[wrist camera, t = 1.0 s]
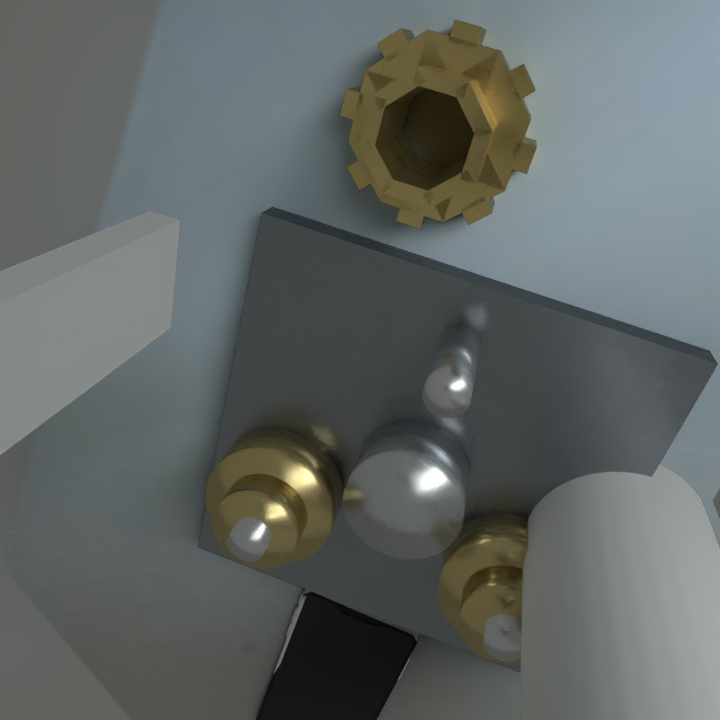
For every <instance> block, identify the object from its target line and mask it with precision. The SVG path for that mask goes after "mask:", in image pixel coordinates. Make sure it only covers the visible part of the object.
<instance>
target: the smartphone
mask: <svg viewBox="0 0 720 720" xmlns="http://www.w3.org/2000/svg"><path fill="white" fill-rule="evenodd" d="M286 636H287V639H286V642H285V645H284V647H283V650H282V653H281V655H280V658H279V661H278V663H277V666H276V668H275V671H274V674H273V676H272V679H271V682H270V684H269V687H268V689H267V692H266V695H265V697H264V700H263V703H262V705H261V708H260V711H259V713H258V716H257V718H256V720H377V718H378V716H379V714H380V712H381V710H382V708H383V706H384V705H385V703H386V701H387V699H388V697H389V695H390V693H391V691H392V689H393V688H394V686H395V684H396V682H397V680H400V678H401V676H402V674H403V672H404V670H405V668H406V666H407V664H408V663H409V661H410V659H411V655H412V652H413V650H414V648H415V646H416V644H417V641H418V636H419V633H417V632H415V631H412V630H410V629H407V628H405V627H402V626H399V625H397V624H394V623H392V622H389V621H386V620H384V619H381V618H379V617H376V616H374V615H371V614H368V613H366V612H363V611H361V610H358V609H356V608H353V607H350V606H348V605H345V604H343V603H340V602H338V601H335V600H332V599H330V598H327V597H325V596H322V595H320V594H317V593H314V592H312V591H309V590H307V589H306V590H305V591H303V592H302V594H301V597H300V599H299V602H298V605H297V607H296V610H295V612H294V615H293V618H292V620H291V623H290V626H289V628H288V631H287V634H286Z"/></svg>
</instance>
